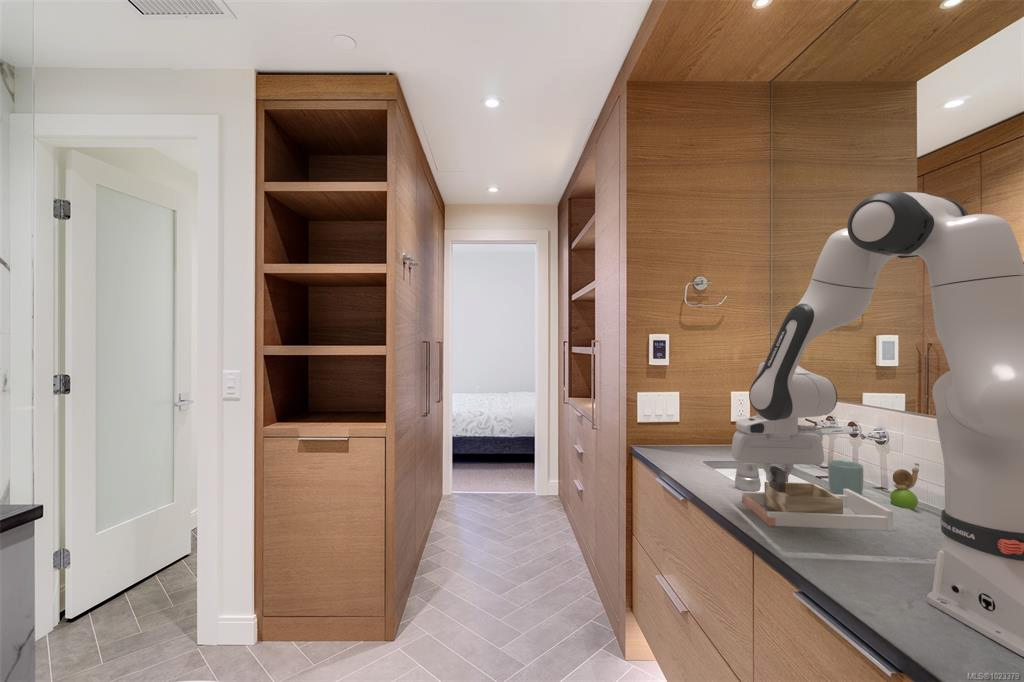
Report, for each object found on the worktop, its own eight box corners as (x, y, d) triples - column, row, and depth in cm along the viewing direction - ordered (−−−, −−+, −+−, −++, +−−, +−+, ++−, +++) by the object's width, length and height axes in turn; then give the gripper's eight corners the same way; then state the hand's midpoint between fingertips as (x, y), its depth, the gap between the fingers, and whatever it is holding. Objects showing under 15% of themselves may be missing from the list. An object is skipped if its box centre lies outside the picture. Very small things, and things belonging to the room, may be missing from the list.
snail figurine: (928, 513, 114) (927, 466, 114) (902, 513, 115) (901, 466, 115) (909, 506, 120) (909, 460, 120) (884, 506, 120) (884, 460, 120)
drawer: (843, 525, 104) (843, 477, 104) (786, 523, 105) (785, 475, 105) (814, 506, 116) (814, 463, 116) (763, 505, 117) (763, 462, 117)
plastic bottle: (764, 496, 127) (764, 425, 127) (738, 495, 128) (737, 424, 129) (756, 489, 133) (756, 421, 134) (731, 488, 135) (731, 420, 135)
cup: (863, 507, 119) (863, 469, 119) (827, 501, 124) (827, 464, 124) (863, 499, 125) (863, 463, 125) (829, 493, 130) (828, 458, 130)
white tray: (893, 536, 101) (893, 511, 101) (769, 531, 104) (769, 506, 104) (848, 510, 117) (848, 488, 117) (742, 506, 120) (742, 485, 120)
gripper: (815, 423, 113) (815, 479, 113) (729, 421, 116) (729, 476, 115) (829, 427, 107) (830, 486, 107) (738, 426, 109) (738, 483, 109)
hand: (777, 481), depth 111 cm, fingers closed on drawer, 2 cm apart
